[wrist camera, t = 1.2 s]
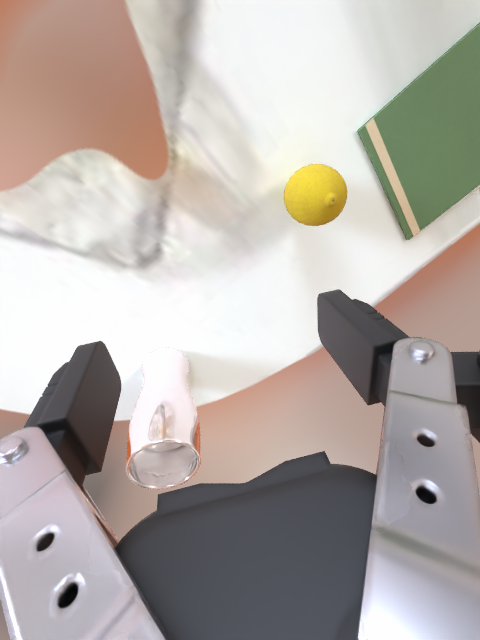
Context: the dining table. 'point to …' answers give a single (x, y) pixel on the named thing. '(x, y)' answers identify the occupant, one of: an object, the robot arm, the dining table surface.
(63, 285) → the dining table surface
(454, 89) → the cloth
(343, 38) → the dining table surface
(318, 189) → the lemon
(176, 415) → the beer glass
